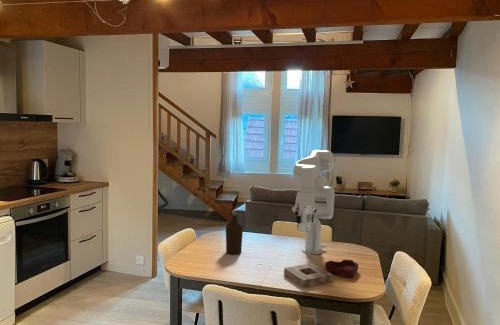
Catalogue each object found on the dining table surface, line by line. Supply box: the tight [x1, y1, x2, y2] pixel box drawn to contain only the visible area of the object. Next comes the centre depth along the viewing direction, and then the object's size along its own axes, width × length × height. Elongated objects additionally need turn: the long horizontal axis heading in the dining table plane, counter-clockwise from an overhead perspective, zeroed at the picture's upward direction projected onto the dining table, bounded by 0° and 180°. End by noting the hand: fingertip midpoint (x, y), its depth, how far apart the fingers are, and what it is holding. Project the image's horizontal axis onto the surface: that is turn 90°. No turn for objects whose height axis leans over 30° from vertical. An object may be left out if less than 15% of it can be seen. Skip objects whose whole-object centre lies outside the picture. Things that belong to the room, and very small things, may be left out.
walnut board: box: [283, 262, 334, 289], centre depth 205 cm, size 18×18×4 cm
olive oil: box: [225, 212, 244, 256], centre depth 242 cm, size 11×11×25 cm
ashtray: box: [324, 259, 359, 279], centre depth 213 cm, size 18×16×5 cm
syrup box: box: [296, 205, 313, 233], centre depth 209 cm, size 6×6×14 cm
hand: (304, 222), depth 209 cm, fingers closed on syrup box, 7 cm apart
